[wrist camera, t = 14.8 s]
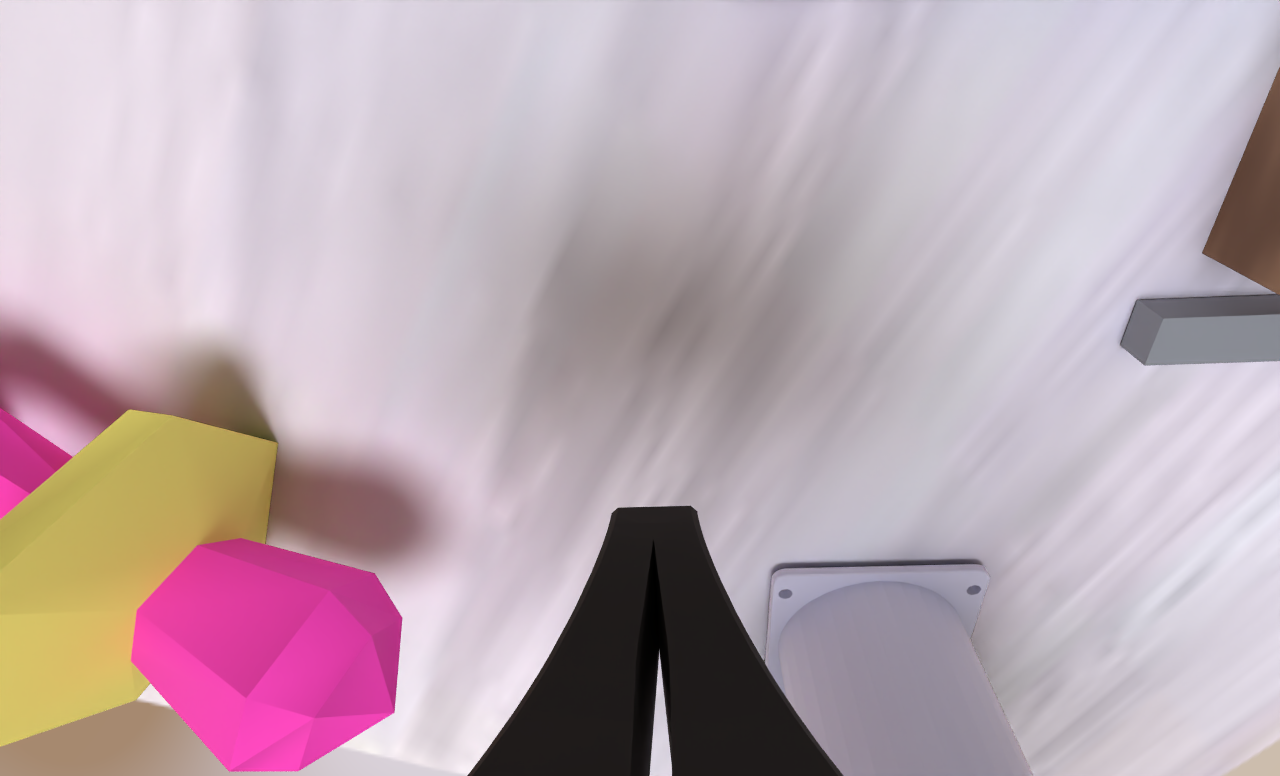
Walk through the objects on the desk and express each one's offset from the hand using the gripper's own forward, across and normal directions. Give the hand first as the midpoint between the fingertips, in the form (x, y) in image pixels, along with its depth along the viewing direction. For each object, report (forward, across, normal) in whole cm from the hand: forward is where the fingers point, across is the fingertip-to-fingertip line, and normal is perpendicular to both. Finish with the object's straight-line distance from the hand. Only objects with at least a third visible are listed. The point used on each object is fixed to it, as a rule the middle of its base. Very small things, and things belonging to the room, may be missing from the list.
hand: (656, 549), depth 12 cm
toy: (+10, +16, +6) cm, 20 cm away
